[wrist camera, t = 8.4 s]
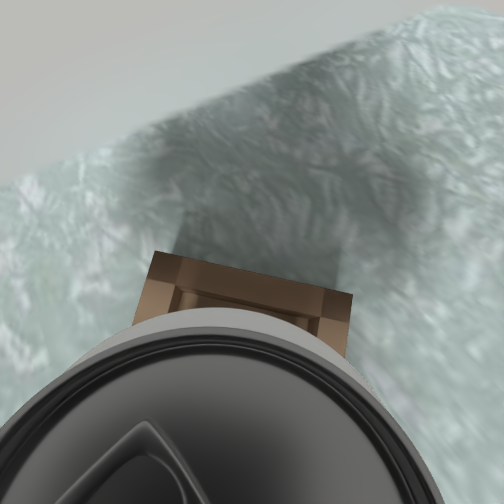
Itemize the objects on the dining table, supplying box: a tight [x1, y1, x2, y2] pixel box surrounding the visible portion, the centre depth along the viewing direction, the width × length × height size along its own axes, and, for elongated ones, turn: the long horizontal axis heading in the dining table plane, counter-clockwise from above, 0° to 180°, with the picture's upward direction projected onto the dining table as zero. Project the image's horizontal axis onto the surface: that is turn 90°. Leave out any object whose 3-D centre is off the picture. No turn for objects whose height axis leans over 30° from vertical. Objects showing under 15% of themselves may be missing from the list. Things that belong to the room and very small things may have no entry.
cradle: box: [132, 251, 353, 359], centre depth 17 cm, size 12×10×3 cm
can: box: [0, 308, 445, 504], centre depth 9 cm, size 6×6×12 cm
